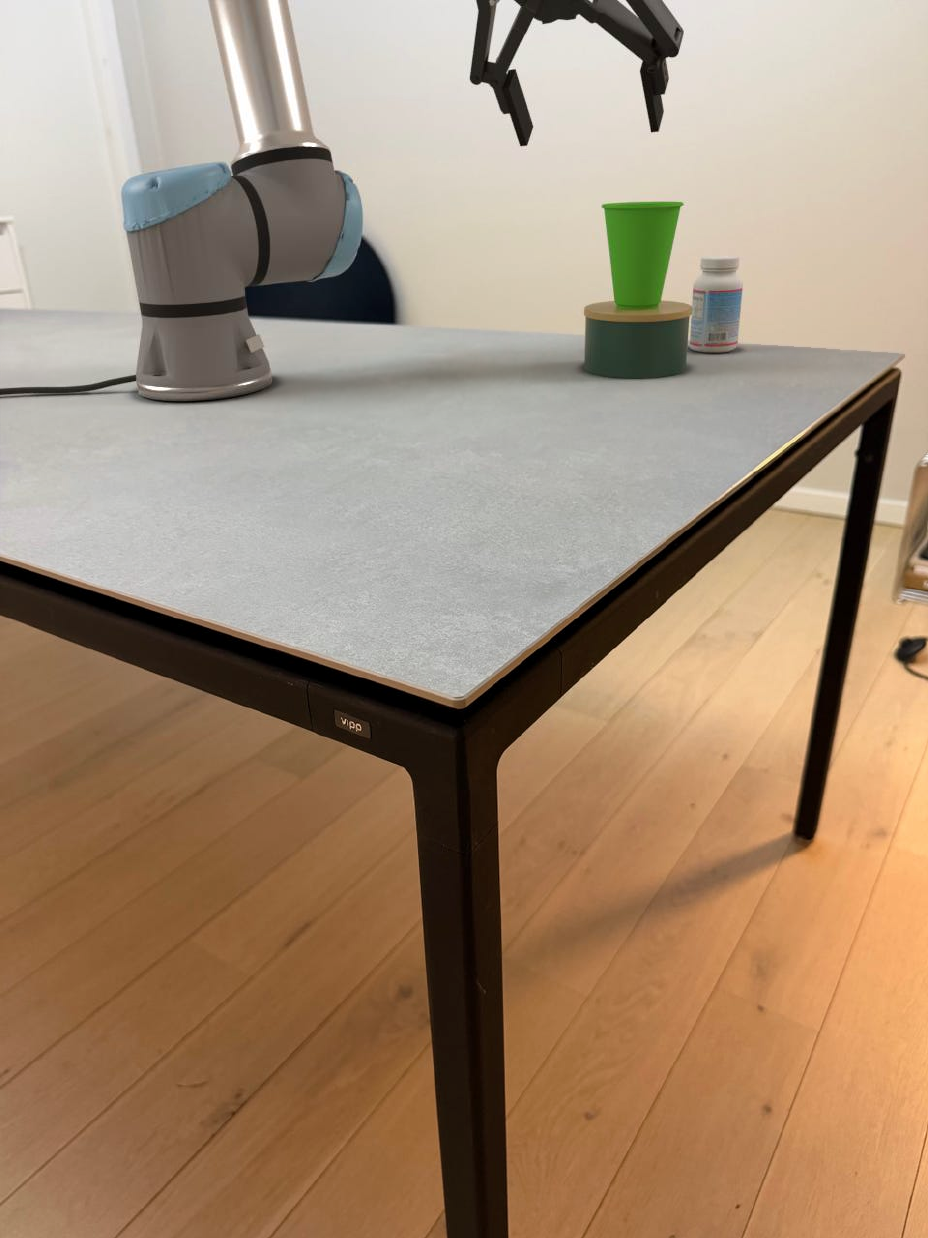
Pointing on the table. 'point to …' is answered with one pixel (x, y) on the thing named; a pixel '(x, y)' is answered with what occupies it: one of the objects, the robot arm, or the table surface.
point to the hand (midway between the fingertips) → (590, 129)
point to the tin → (636, 340)
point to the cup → (640, 250)
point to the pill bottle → (716, 305)
